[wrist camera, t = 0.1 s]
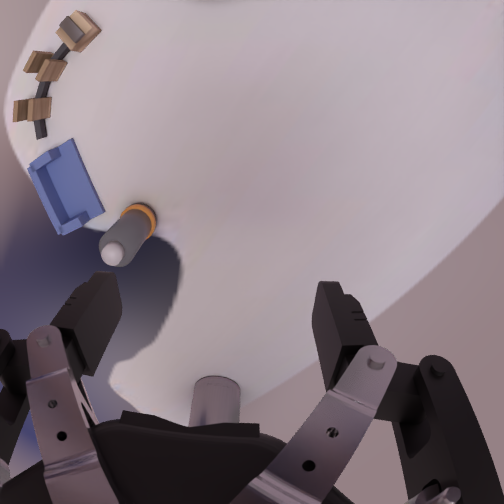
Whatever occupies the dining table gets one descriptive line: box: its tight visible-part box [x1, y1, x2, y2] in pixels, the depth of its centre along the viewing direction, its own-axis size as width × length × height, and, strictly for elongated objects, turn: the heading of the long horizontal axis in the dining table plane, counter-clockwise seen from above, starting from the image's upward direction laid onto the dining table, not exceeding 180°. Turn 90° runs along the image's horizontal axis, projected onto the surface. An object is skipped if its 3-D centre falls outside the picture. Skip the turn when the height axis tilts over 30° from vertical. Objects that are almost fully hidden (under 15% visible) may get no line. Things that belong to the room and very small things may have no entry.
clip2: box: [23, 51, 67, 82], centre depth 28 cm, size 4×3×4 cm
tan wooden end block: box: [55, 10, 102, 52], centre depth 27 cm, size 4×4×3 cm
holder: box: [27, 138, 105, 235], centre depth 37 cm, size 8×12×3 cm, turn 19°
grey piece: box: [99, 204, 156, 267], centre depth 36 cm, size 5×5×11 cm
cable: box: [34, 43, 70, 140], centre depth 31 cm, size 16×4×1 cm, turn 154°
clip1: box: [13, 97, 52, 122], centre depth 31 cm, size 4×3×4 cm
